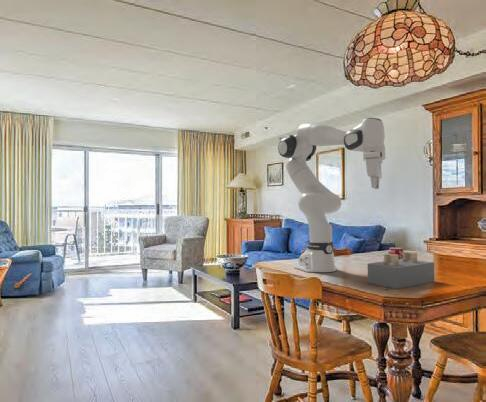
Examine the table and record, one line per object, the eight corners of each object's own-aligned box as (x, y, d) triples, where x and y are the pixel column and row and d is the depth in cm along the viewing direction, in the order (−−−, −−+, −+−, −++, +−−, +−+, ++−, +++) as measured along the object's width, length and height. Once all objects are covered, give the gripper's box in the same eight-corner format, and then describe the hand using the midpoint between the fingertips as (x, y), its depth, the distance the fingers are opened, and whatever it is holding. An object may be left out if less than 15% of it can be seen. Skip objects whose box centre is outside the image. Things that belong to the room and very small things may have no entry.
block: (368, 282, 160) (367, 263, 160) (405, 276, 172) (404, 258, 172) (396, 288, 148) (396, 268, 148) (434, 281, 160) (434, 262, 160)
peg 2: (403, 268, 164) (402, 252, 164) (409, 267, 166) (408, 251, 166) (411, 269, 161) (410, 253, 161) (417, 268, 163) (417, 252, 163)
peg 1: (384, 271, 158) (383, 254, 158) (390, 270, 160) (390, 253, 160) (392, 272, 155) (391, 255, 155) (398, 271, 157) (398, 254, 157)
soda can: (403, 272, 182) (402, 247, 182) (405, 275, 176) (405, 248, 176) (387, 271, 184) (387, 246, 184) (389, 274, 177) (388, 248, 178)
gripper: (369, 159, 173) (370, 189, 173) (363, 153, 155) (364, 187, 155) (384, 157, 171) (385, 188, 170) (379, 152, 152) (380, 187, 152)
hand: (375, 188), depth 162 cm, fingers open, 8 cm apart
